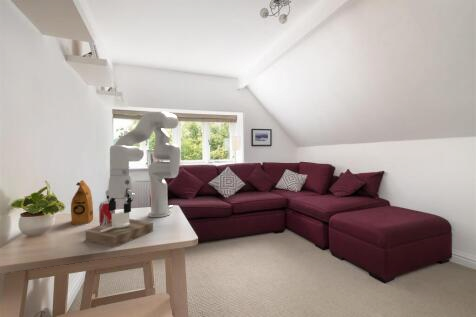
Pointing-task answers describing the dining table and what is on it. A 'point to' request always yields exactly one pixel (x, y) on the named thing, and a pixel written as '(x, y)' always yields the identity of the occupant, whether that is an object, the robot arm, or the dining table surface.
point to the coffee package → (82, 205)
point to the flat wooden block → (119, 233)
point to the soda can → (105, 213)
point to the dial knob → (119, 221)
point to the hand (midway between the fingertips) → (119, 211)
